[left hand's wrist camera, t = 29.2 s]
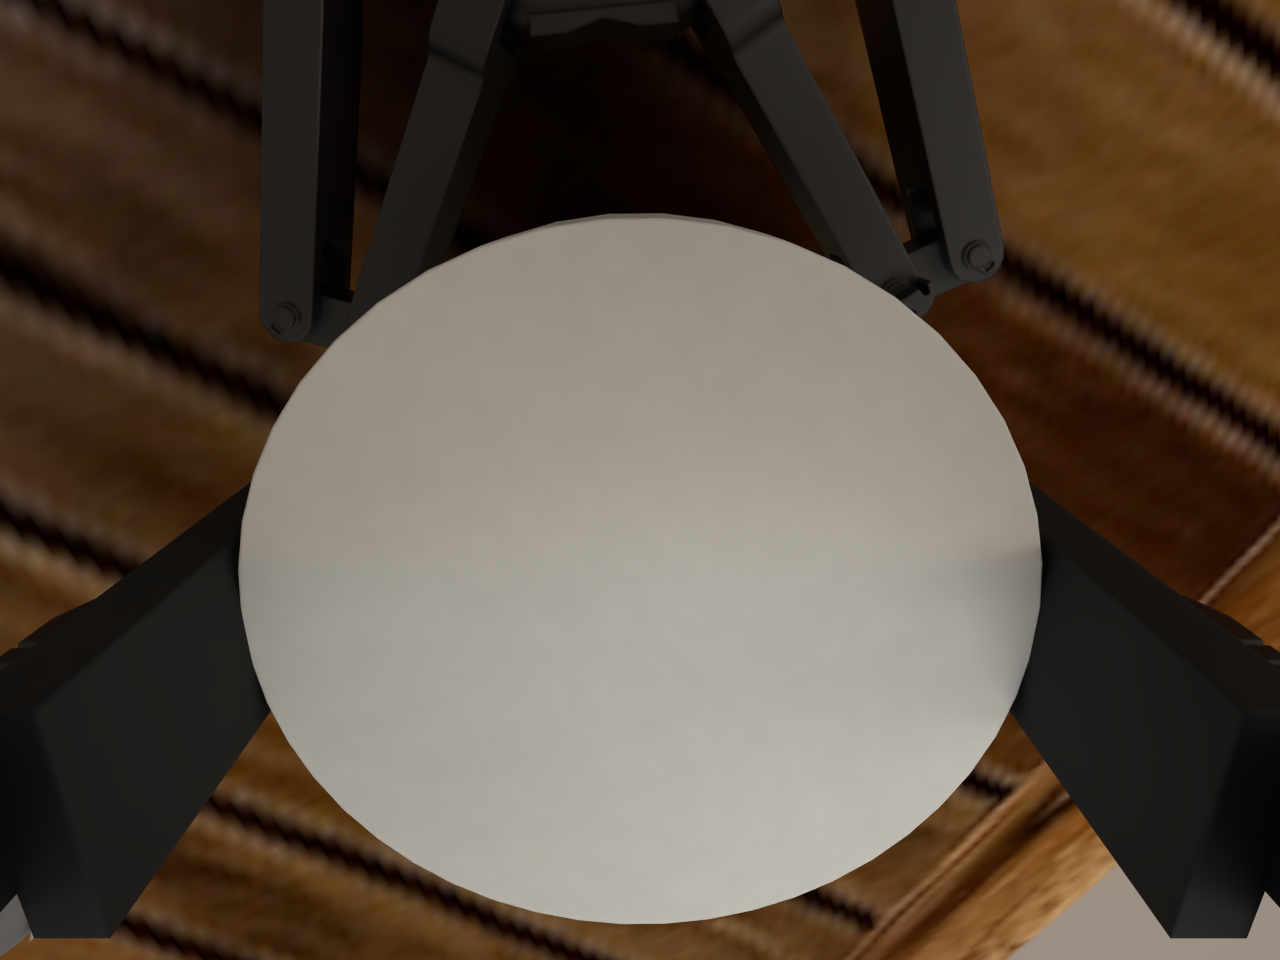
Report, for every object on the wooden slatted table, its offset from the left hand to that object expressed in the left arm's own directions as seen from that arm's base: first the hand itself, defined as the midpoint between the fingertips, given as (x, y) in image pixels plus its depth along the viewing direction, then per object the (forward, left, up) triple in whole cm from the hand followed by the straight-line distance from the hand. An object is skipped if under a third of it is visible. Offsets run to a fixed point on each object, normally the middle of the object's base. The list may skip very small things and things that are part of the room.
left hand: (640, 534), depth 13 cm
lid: (0, 0, +3) cm, 3 cm away
